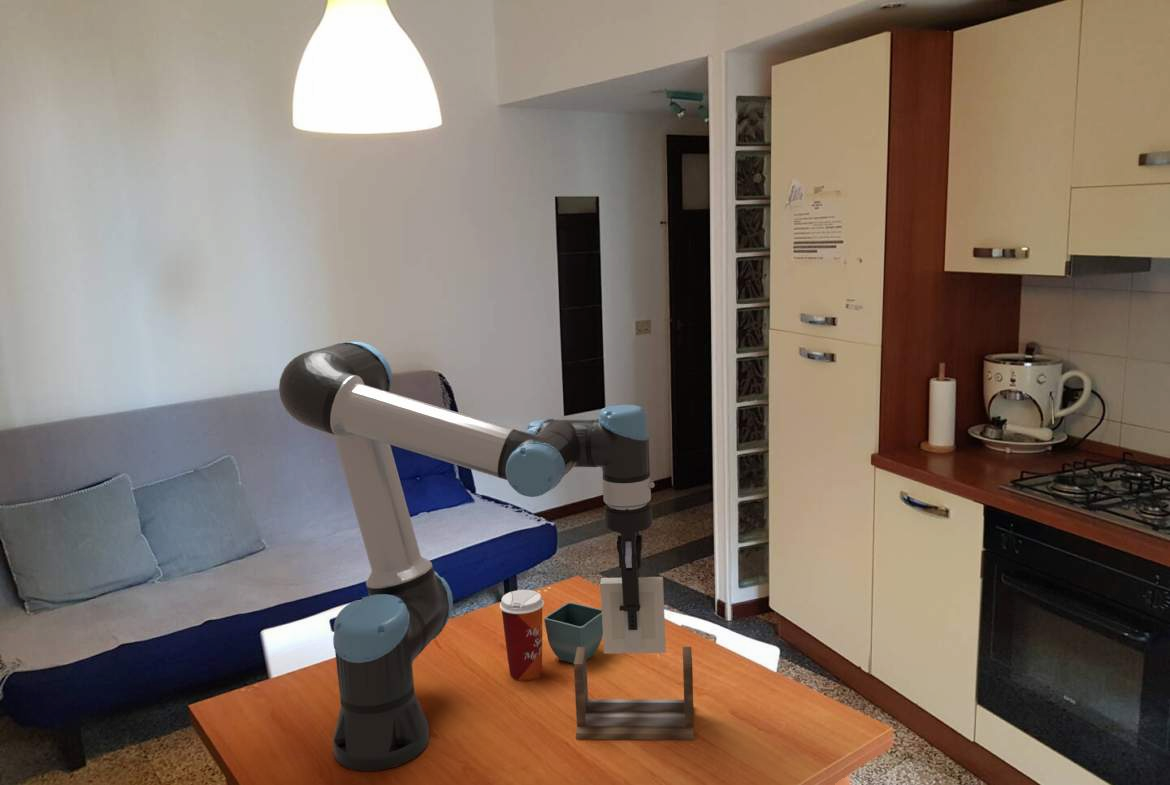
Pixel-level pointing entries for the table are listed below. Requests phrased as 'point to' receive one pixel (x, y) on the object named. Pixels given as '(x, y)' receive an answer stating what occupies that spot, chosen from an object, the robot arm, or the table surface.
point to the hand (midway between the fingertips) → (634, 641)
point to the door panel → (650, 616)
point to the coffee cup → (523, 633)
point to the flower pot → (574, 630)
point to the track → (633, 710)
